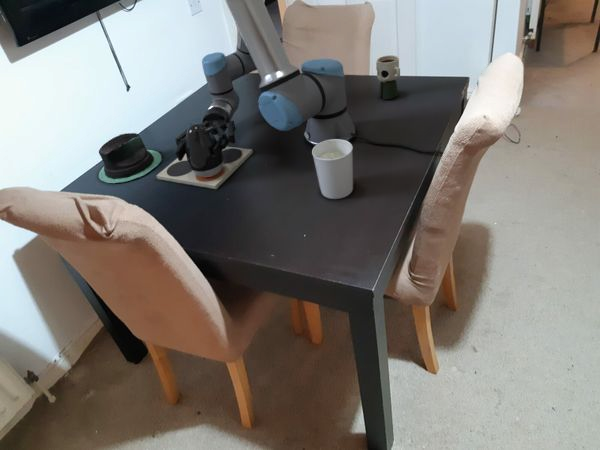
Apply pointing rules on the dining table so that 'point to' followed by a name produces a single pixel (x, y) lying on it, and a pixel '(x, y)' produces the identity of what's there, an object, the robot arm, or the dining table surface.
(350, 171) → the candle holder
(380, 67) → the character mug
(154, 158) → the black green hat
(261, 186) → the dining table surface
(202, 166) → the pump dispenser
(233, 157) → the hob plate
